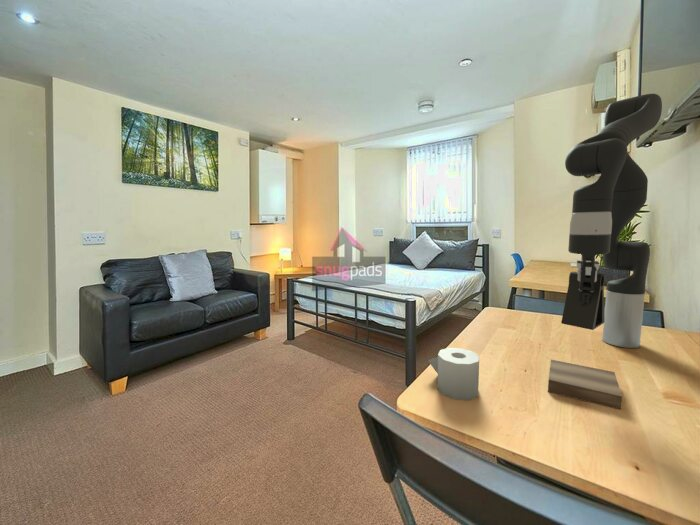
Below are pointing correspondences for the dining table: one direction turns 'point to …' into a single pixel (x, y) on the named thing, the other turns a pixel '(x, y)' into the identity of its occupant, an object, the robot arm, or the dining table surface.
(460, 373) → the toilet tissue
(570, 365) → the walnut block
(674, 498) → the dining table surface
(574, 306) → the phone stand
